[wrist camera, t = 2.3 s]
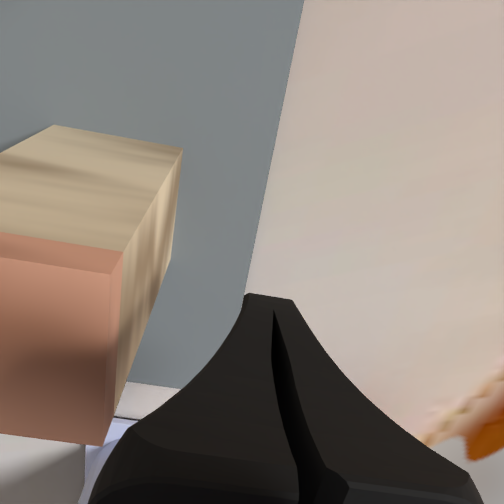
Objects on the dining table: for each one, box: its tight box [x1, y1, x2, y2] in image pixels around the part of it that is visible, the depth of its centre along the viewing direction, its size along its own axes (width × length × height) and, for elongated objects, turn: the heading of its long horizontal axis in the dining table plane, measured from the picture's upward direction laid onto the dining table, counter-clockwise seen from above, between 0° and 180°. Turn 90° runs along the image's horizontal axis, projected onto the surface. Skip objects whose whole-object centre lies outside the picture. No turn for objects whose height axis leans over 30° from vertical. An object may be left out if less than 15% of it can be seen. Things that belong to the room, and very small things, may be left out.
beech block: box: [0, 125, 183, 447], centre depth 15 cm, size 5×5×10 cm
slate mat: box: [0, 0, 304, 389], centre depth 19 cm, size 20×20×1 cm
